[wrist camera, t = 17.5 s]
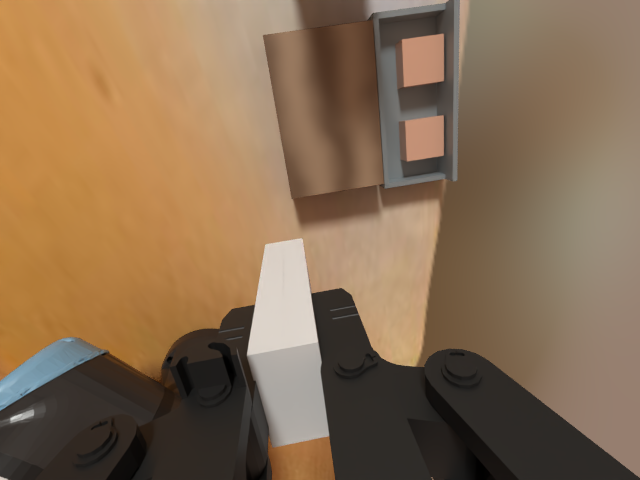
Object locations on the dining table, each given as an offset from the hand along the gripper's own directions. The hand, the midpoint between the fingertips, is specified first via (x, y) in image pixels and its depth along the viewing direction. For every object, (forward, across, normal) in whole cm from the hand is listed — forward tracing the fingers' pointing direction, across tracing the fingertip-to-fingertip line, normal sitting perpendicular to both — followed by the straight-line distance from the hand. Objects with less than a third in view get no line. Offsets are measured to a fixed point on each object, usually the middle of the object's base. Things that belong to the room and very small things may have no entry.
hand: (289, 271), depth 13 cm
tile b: (+29, +18, +10) cm, 36 cm away
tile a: (+29, +18, +2) cm, 34 cm away
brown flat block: (+32, +6, +6) cm, 33 cm away
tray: (+32, +17, +6) cm, 37 cm away
